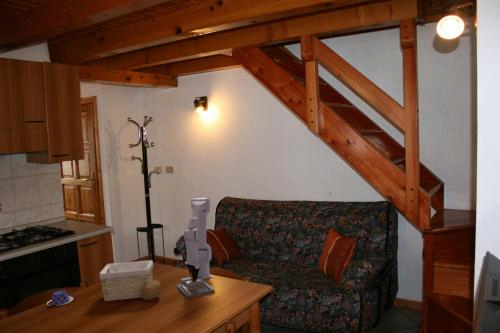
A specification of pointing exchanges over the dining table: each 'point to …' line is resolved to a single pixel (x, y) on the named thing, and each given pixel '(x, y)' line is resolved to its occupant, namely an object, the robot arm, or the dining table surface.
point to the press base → (194, 288)
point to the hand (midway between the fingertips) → (194, 278)
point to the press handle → (194, 282)
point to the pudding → (60, 298)
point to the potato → (150, 290)
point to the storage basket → (125, 279)
